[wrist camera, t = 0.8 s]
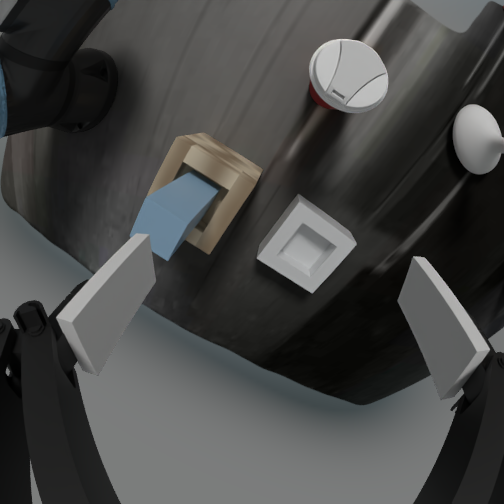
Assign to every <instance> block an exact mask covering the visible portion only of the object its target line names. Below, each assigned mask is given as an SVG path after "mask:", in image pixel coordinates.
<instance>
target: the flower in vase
mask: <svg viewBox="0 0 504 504" xmlns="http://www.w3.org/2000/svg"><path fill="white" fill-rule="evenodd" d="M453 143H454V148H455V151H456V154H457V156H458V158H459V160H460V162H461V163H462V165H463V166H464V167H465V168H466V169H467V170H468V171H470V172H472V173H474V174H485V173H488V172H490V171H491V170H492V169H493V168H494V167H495V166H496V165H497V163H498V161H499V159H500V156H501V153H504V138H502V136H501V132H500V129H499V126H498V124H497V122H496V120H495V119H494V117H493V116H492V115H491V114H490V113H489V112H488V111H487V110H486V109H484V108H483V107H481V106H478V105H467V106H465V107H464V108H462V109H461V110H460V112H459V113H458V115H457V116H456V119H455V122H454V126H453Z"/></svg>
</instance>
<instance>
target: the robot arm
mask: <svg viewBox="0 0 504 504" xmlns="http://www.w3.org/2000/svg"><path fill="white" fill-rule="evenodd" d="M117 1H118V0H0V32H3V33H2V35H1V36H0V138H2V137H5V136H9V135H13V134H17V133H21V132H25V131H29V130H34V129H38V128H43V127H51V128H54V129H58V130H61V131H64V132H68V133H75V132H81V131H86V130H88V129H91V128H92V127H94V126H95V125H97V124H98V123H99V122H100V121H101V120H102V119H103V118H104V116H105V115H106V114H107V112H108V111H109V109H110V107H111V105H112V103H113V100H114V97H115V94H116V90H117V83H118V75H117V69H116V65H115V63H114V61H113V59H112V58H111V57H110V56H109V55H108V54H107V53H106V52H104V51H101V50H97V49H92V48H85V49H80V50H78V49H79V48H80V46H81V45H82V44H83V42H84V41H85V40H86V38H87V37H88V36H89V35H90V33H91V32H92V31H93V29H94V28H95V27H96V26H97V25H98V23H99V22H100V21H101V20H102V19H103V18H104V16H105V15H106V14H107V13H108V12H109V11H110V10H112V9H113V8H114V6H115V4H116V2H117ZM155 282H156V278H155V272H154V265H153V258H152V251H151V243H150V235H149V234H139V233H136V234H135V235H134V236H133V237H132V238H131V239H130V240H129V241H128V242H126V243H125V244H124V245H123V246H122V247H121V248H120V249H119V250H118V251H117V252H116V253H115V254H114V255H113V256H112V257H111V258H110V259H109V260H108V261H107V262H106V263H105V264H104V265H103V266H102V267H101V268H100V269H99V270H98V271H97V273H96V274H95V275H94V276H93V277H92V278H91V279H90V280H85V281H84V282H82V283H80V284H79V285H77V286H76V287H75V288H74V289H73V291H72V292H71V294H69V295H68V296H67V297H66V299H65V300H63V301H62V303H61V304H60V305H59V306H58V307H57V308H56V309H55V310H54V311H53V313H52V314H51V315H50V316H49V317H47V314H46V312H45V310H44V307H43V305H42V303H40V302H39V301H35V300H34V301H28V302H26V303H24V304H22V305H21V306H19V307H18V308H17V310H16V311H15V313H14V315H13V317H14V319H15V321H16V322H17V325H18V327H19V329H14V327H13V326H12V324H11V322H10V320H8V319H5V318H3V319H0V504H32V495H31V480H30V460H31V464H32V469H33V473H34V477H35V481H36V484H37V487H38V491H39V495H40V498H41V501H42V504H121V503H120V501H119V499H118V497H117V495H116V493H115V491H114V489H113V486H112V484H111V482H110V480H109V477H108V475H107V473H106V470H105V468H104V465H103V463H102V460H101V458H100V455H99V452H98V450H97V447H96V444H95V441H94V438H93V435H92V432H91V429H90V425H89V422H88V419H87V415H86V412H85V408H84V404H83V400H82V396H81V392H80V388H79V383H78V379H77V374H76V371H75V369H74V365H75V364H76V362H77V361H78V363H79V365H80V366H81V368H82V370H83V371H85V372H88V373H91V374H94V375H97V376H98V375H99V373H100V372H101V370H102V368H103V366H104V365H105V363H106V361H107V359H108V357H109V356H110V354H111V352H112V351H113V349H114V347H115V346H116V344H117V342H118V341H119V339H120V337H121V336H122V334H123V332H124V331H125V329H126V327H127V326H128V324H129V323H130V321H131V319H132V318H133V316H134V314H135V313H136V311H137V310H138V308H139V307H140V305H141V304H142V302H143V300H144V299H145V297H146V296H147V294H148V293H149V291H150V290H151V288H152V287H153V285H154V284H155ZM398 303H399V305H400V307H401V309H402V311H403V313H404V315H405V317H406V319H407V321H408V323H409V325H410V327H411V329H412V332H413V334H414V336H415V338H416V340H417V343H418V345H419V347H420V349H421V352H422V354H423V356H424V359H425V361H426V363H427V366H428V368H429V371H430V373H431V376H432V378H433V381H434V383H435V386H436V389H437V391H438V394H439V397H440V399H441V400H442V399H447V398H451V397H454V396H455V395H456V394H457V393H458V392H459V390H460V389H461V388H463V391H464V394H463V395H462V396H461V398H460V399H459V400H458V401H457V402H456V403H455V404H454V406H453V407H452V408H451V411H453V409H455V407H457V406H458V407H457V410H456V411H455V416H454V419H453V422H452V425H451V427H450V430H449V433H448V435H447V438H446V440H445V442H444V445H443V447H442V449H441V452H440V454H439V456H438V458H437V460H436V463H435V465H434V467H433V469H432V471H431V473H430V475H429V477H428V479H427V480H426V482H425V484H424V486H423V488H422V490H421V492H420V493H419V495H418V497H417V498H416V500H415V502H414V503H413V504H504V353H502V352H497V353H496V352H495V351H494V349H493V347H492V346H491V344H490V342H489V341H488V339H487V337H486V336H485V334H484V333H483V332H482V330H481V328H480V327H479V325H477V324H478V323H477V322H476V321H475V319H474V318H473V316H472V315H471V314H470V313H469V312H467V311H466V310H465V309H464V308H463V307H462V305H461V304H460V302H459V301H458V300H457V298H456V297H455V295H454V294H453V293H452V291H451V290H450V289H449V287H448V286H447V285H446V283H445V282H444V281H443V280H442V278H441V277H440V276H439V274H438V273H437V272H436V271H435V269H434V268H433V267H432V266H431V264H430V263H429V262H428V261H427V260H426V258H424V257H414V256H413V259H412V262H411V265H410V268H409V271H408V274H407V276H406V279H405V282H404V285H403V288H402V290H401V293H400V296H399V298H398ZM7 367H8V369H9V370H10V374H9V376H7V374H6V368H7Z"/></svg>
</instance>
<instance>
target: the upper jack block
mask: <svg viewBox="0 0 504 504" xmlns="http://www.w3.org/2000/svg"><path fill="white" fill-rule="evenodd" d="M192 170H194V171H196V172H197V173H199V174H201V175H202V176H204V177H206V178H207V179H209V180H210V181H212V182H213V183H215V184H217V185H218V186H220V187H221V190H220V191H219V193H218V195H217V196H216V198H215V199H214V201H213V203H212V204H211V206H210V208H209V209H208V211H207V212H206V214H205V215H204V217H203V218H202V219H201V220H200V222H199V223H198V224H197V225H196V226H195V228H194V229H193V230H192V231H191V233H190V234H189V235H188V236H187V237H186V239H185V240H186V241H188V242H190V243H191V244H193V245H194V246H196V247H197V248H199V249H201V250H202V251H204V252H205V253H207V254H210V253H211V251H212V250H213V248H214V247H215V245H216V244H217V242H218V241H219V239H220V238H221V236H222V234H223V233H224V231H225V230H226V228H227V227H228V225H229V224H230V222H231V221H232V219H233V218H234V216H235V215H236V213H237V212H238V210H239V209H240V207H241V206H242V204H243V203H244V201H245V200H246V198H247V197H248V196H249V194H250V193H251V191H252V190H253V188H254V187H255V185H256V183H257V181H258V179H259V177H260V175H261V173H262V171H263V169H261V168H260V167H258V166H257V165H255V164H254V163H252V162H251V161H249V160H247V159H246V158H244V157H243V156H241V155H240V154H238V153H236V152H235V151H233V150H232V149H230V148H228V147H227V146H225V145H223V144H222V143H220V142H218V141H217V140H215V139H213V138H212V137H210V136H208V135H207V134H205V133H199V134H192V135H185V136H179V137H176V139H175V141H174V143H173V144H172V146H171V148H170V150H169V152H168V154H167V156H166V158H165V160H164V162H163V164H162V166H161V168H160V170H159V172H158V174H157V176H156V178H155V180H154V182H153V184H152V186H151V188H150V190H149V192H148V194H147V196H149V195H150V194H152V193H154V192H155V191H157V190H159V189H160V188H162V187H164V186H166V185H167V184H169V183H171V182H172V181H174V180H176V179H178V178H179V177H181V176H183V175H185V174H187V173H188V172H190V171H192Z"/></svg>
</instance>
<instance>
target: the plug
mask: <svg viewBox="0 0 504 504" xmlns="http://www.w3.org/2000/svg"><path fill="white" fill-rule="evenodd" d="M220 190H221V187H220V186H218V185H217V184H215V183H213V182H212V181H210V180H209V179H207V178H206V177H204V176H202V175H201V174H199V173H197V172H196V171H194V170H192V171H190V172H188V173H187V174H185V175H183V176H181V177H179V178H178V179H176V180H174V181H172V182H171V183H169V184H167V185H166V186H164V187H162V188H160V189H159V190H157V191H155V192H154V193H152V194H150V195H149V196H147V197H146V199H145V201H144V203H143V205H142V208H141V210H140V212H139V214H138V217H137V219H136V221H135V224H134V226H133V229H132V231H131V234H130V237H133V236H134V235H135V234H136V233H139V234H149V235H150V243H151V251H153V252H154V253H156V254H157V255H159V256H161V257H162V258H164V259H165V260H167V261H168V260H169V259H170V258H171V256H172V255H173V254H174V253H175V251H176V250H177V249H178V247H179V246H180V245H181V244H182V242H183V241H184V240H185V239H186V237H187V236H188V235H189V234H190V233H191V231H192V230H193V229H194V228H195V226H196V225H197V224H198V223H199V222H200V220H201V219H202V218H203V217H204V215H205V214H206V212H207V211H208V209H209V208H210V206H211V204H212V203H213V201H214V199H215V198H216V196H217V195H218V193H219V191H220Z"/></svg>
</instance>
